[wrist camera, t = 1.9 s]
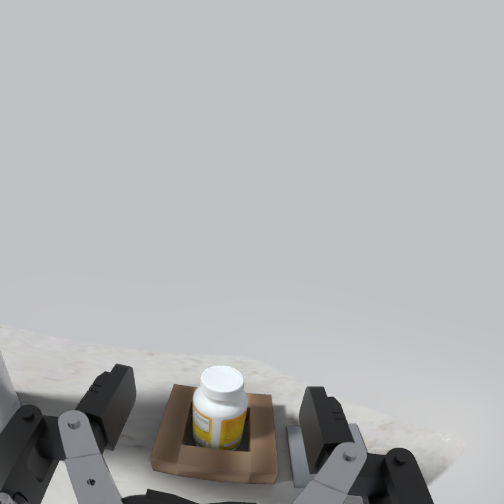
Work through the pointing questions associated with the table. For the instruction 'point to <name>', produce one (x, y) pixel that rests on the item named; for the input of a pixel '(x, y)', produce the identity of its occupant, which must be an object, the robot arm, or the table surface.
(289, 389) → the table surface
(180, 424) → the socket block
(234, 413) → the supplement bottle
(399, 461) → the robot arm
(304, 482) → the rubber mat
